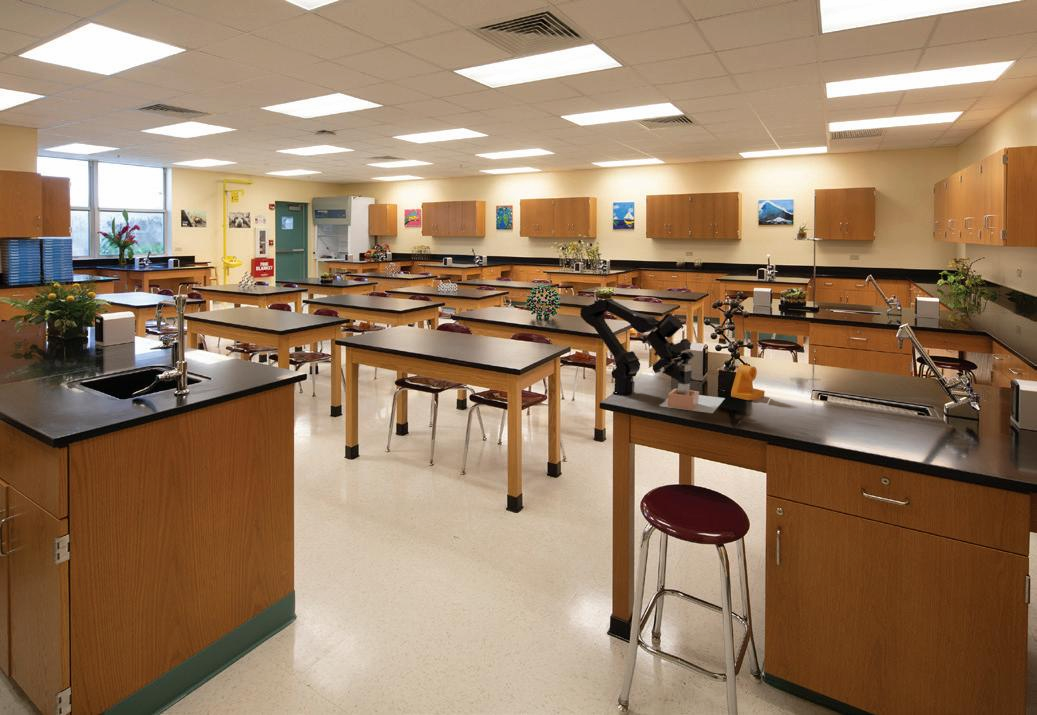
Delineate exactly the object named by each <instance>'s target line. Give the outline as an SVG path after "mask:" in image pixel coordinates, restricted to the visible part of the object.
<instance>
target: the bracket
mask: <svg viewBox="0 0 1037 715" xmlns="http://www.w3.org/2000/svg"><path fill="white" fill-rule="evenodd" d="M757 370H758V369H757V367H755V366H753V365H746V364H740V365H739V366H738V367H737V368H736V373H735V377H734V381H733V383H732V387H731V391H730V397H732V398H737V399H741V400H745V401H755V400H759V399H762V397H765V393H766V392H765V390H763V389H758V388H754V384H753V382H754V381H755V379H756V377H757V373H758V372H757Z"/></svg>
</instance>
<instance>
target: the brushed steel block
mask: <svg viewBox="0 0 1037 715" xmlns="http://www.w3.org/2000/svg"><path fill="white" fill-rule="evenodd" d="M679 371H680V372H681V374H682V376H683V377H684V379H685V381H686V382H685V383H681V382H680V381H678V380H677V384H678V385H677V389H678V394H680V395H688V396H689V390H691V383H692V380H691V378H692V372H693V371H692V364H690V363H688V364H687V363H684V364H679Z"/></svg>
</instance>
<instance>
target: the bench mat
mask: <svg viewBox="0 0 1037 715" xmlns="http://www.w3.org/2000/svg"><path fill="white" fill-rule="evenodd" d="M724 400H726V398H725V397H719V396H709V395H701V394H699V399H698V405H697V406H696V407H695V408H694V409H693V410H690V409H683V408H675V407H668V398H666V399H665V400H664V401H663V402H662V403H660V404H659V405H658V406H659V407H664V408H672V409H679V410H685V411H687V410H688V411H693V412H698V413H699V412H701V413H706V414H707V413H708V414H714V412H715V411H716V410H717V409H718V408H719V406H720V405H721V404H722V403H723V401H724Z"/></svg>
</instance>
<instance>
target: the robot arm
mask: <svg viewBox="0 0 1037 715" xmlns="http://www.w3.org/2000/svg"><path fill="white" fill-rule="evenodd" d="M606 312H608V313H611V314H612V315H614V316H615V317H617V318H620V319H621V320H624V321H625V322H627V323H629V325H630V326H631V328H632V329H634V331H636V332H637V333H638V334H646V333H648V334H647V335H642V340H641V341H642V342H641V343H642V345H643V344H648V343H649V345H650V346H651V347H652V349H653V350H654V353H653V354H654V356H655V357H657V356H658V357H659V359H658V360H657V361H656V362H655V363H653V365H652V371H653V372H654V373H655V374H659V373H662V374H665V375H667V376H669V377H670V378H672V379H675V380H676V381H677V382H678V381H680V382H681V383H685V382H686V381H685V379H684V377H683V376H682V374H681V372H680V371H679V364H684V363H687V364H689V361H690V360H692V359H693V358H694V357H695V355H694V354H693V353H692V352H691V351H687V350H691V349H692V348H691V345H692V342H691V341H690V340H688V338H683V339H681V340H680V342H678V343H674V342H672V341H671V342H670V341H669V340H668V339H667V338H672V337H673V336H674V335H675V334H676V333H677V332H678V331H680V329H682V328H683V322H682V321H681V319H680V318H678V317H677V316H675V315H673V314H672V313H670V312H669V313H666V314H665V315H664V316H663V318H662V319H661V320H659V319H656V317H654V316H653V315H649V314H646V313H640V312H636V311H635V310H633V309H630V308H629V307H626V306H625V305H623V304H621V303H619V302H617V301H615V300H614V299H612V298H603V299H601V300H599V301H597V302H594V303H591V304H585V305H583V306H581V309H580V313H579V315H580V318H581V319H582V320H583V321H584V322H585V323H586V324H587V325H589V326H591V327H592V328H594V330H595V331H596V332H597V334H598V336H599V337H600V338H601V340H602V342H603V343H604V344H605V346H606V347H607V349H608V350H609V351H610V353H611V354H612V356H613V358H614V365H615V368H614V369H613V370H612V371H611V372H610V374H611V378H612V379H614V389H613V390H614V391H613V392H612V394H613V393H615V392H617V393H615V394H614V395H621V396H627V395H629V396H631V395H632V394H634V393H635V381H634V377H636V376H637V373H638V372H639V371H640V369H641V363H640V358H639V357H638V356H637V355H636V353H635V351H633V350H632V351H627V350H626V349H625V348H624V346H623V344H622V343H621V342H620V341H619V339H618V338H617V336H616V334H615V333H614V331H613V330H612V329H611V328H610V325H609V324H608V323H607V321H606V317H605V313H606ZM662 368H663V370H662ZM661 370H662V371H661ZM692 378H693V377H691V381H692V380H693V379H692ZM633 392H634V393H633ZM630 394H631V395H630Z"/></svg>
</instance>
